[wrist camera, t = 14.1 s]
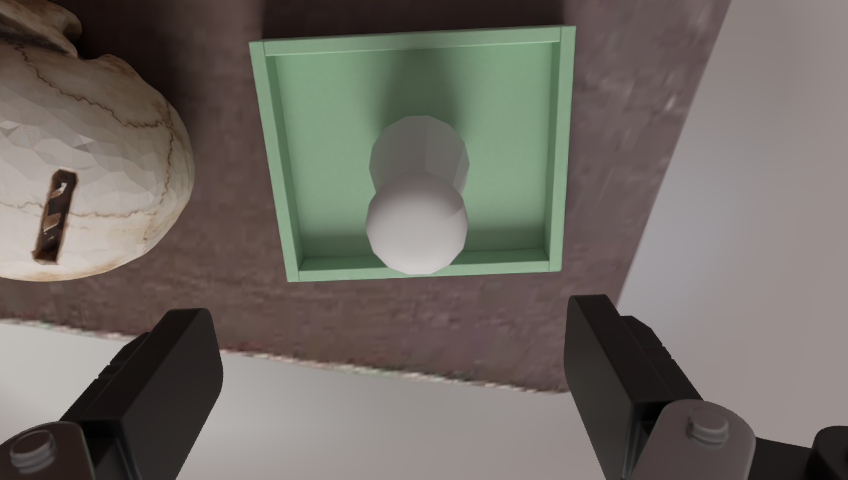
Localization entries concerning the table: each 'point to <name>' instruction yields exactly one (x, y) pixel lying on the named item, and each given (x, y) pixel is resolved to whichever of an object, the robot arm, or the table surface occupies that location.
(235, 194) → the table surface
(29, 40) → the coin bank
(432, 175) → the salt shaker
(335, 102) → the tray
